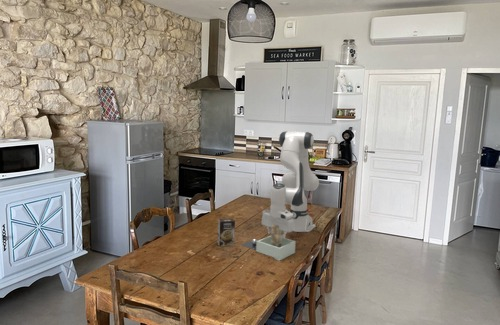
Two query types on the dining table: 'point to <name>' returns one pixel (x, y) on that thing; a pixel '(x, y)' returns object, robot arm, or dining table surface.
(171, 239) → the dining table surface
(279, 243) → the strut
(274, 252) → the bin
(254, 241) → the stud plate
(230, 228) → the coffee box
